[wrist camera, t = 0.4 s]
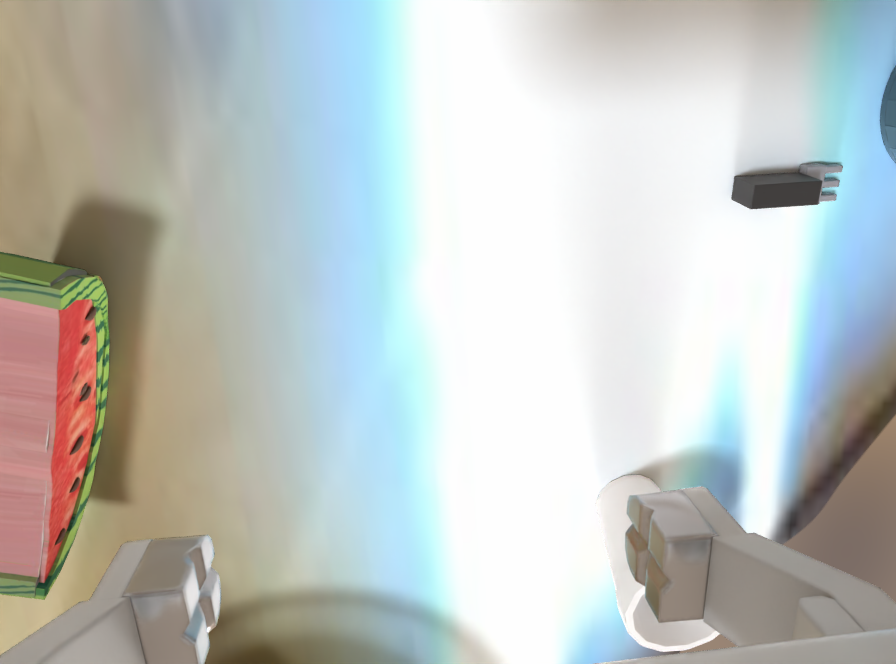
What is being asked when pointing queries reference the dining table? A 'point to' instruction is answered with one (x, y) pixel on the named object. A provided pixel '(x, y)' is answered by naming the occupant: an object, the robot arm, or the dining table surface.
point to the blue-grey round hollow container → (889, 116)
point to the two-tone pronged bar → (786, 187)
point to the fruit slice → (47, 414)
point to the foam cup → (627, 589)
